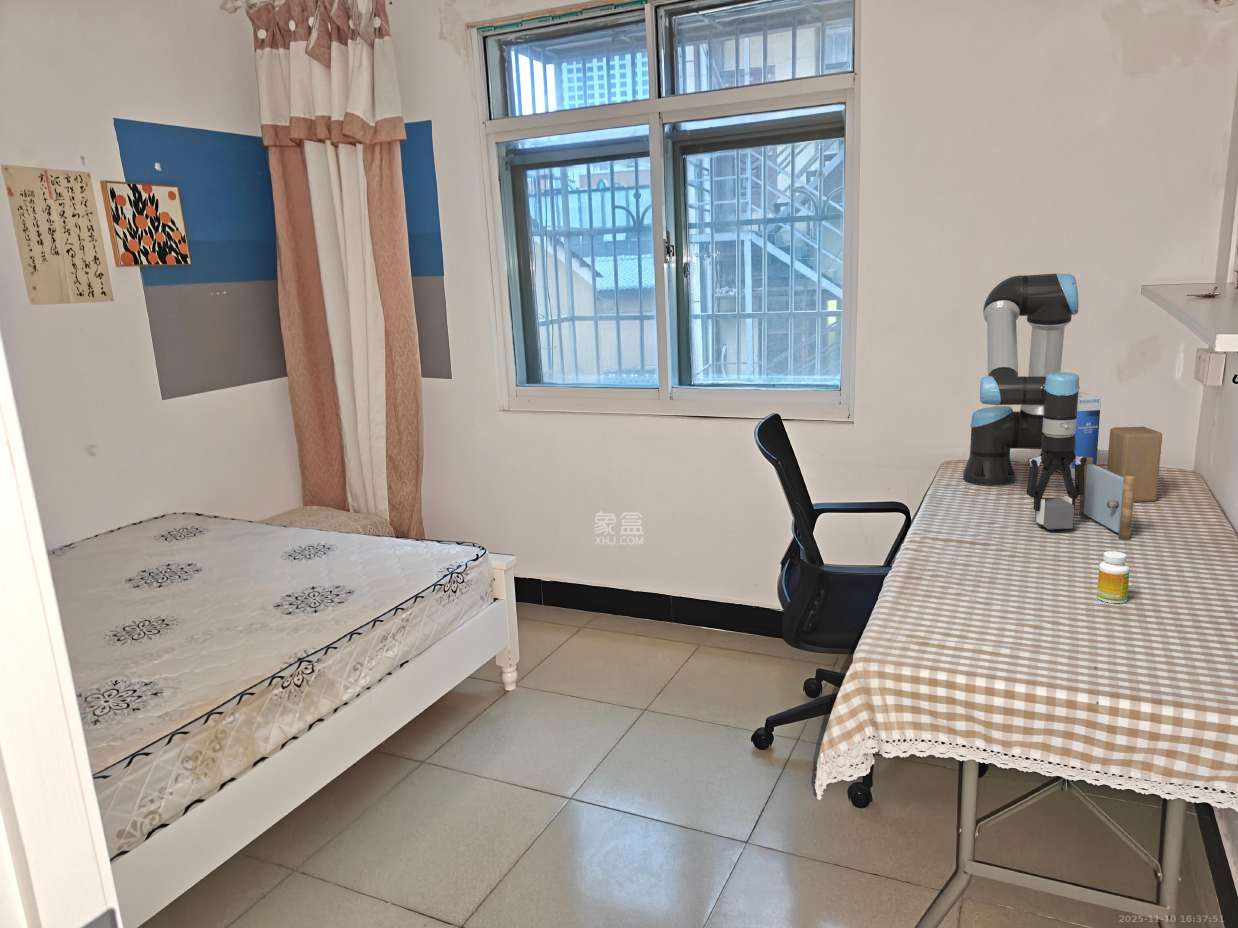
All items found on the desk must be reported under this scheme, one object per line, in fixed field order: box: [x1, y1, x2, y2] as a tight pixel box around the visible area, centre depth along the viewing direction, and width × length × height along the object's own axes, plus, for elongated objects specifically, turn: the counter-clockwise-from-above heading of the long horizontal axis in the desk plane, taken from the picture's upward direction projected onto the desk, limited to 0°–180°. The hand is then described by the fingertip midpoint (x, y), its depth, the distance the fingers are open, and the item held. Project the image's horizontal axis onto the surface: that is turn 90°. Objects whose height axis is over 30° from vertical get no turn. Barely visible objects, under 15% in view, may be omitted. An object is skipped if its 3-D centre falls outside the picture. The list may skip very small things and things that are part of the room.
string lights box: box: [1057, 391, 1102, 480], centre depth 266 cm, size 13×8×26 cm, turn 1°
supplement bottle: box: [1096, 550, 1130, 604], centre depth 170 cm, size 5×5×10 cm
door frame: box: [1078, 457, 1135, 541], centre depth 214 cm, size 23×2×16 cm, turn 177°
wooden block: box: [1106, 426, 1163, 503], centre depth 237 cm, size 10×10×20 cm
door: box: [1084, 464, 1124, 533], centre depth 214 cm, size 17×4×14 cm, turn 177°
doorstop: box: [1034, 496, 1075, 530], centre depth 215 cm, size 8×6×6 cm
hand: (1053, 522), depth 216 cm, fingers closed on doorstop, 6 cm apart
